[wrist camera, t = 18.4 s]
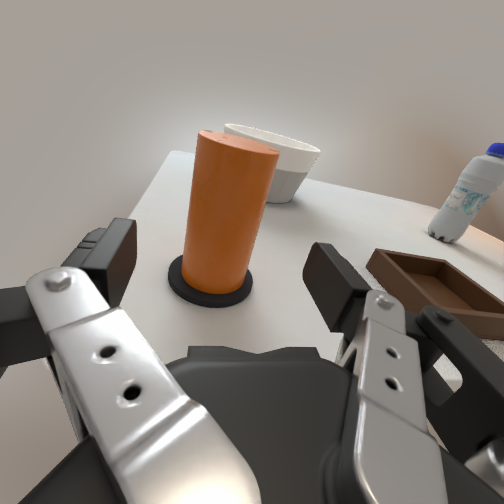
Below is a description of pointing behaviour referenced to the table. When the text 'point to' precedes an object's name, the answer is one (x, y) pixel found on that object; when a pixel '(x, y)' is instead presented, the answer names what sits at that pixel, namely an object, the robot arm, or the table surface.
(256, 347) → the table surface
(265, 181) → the orange cylinder
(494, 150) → the bottle
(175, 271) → the coaster
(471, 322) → the tray
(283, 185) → the bowl
